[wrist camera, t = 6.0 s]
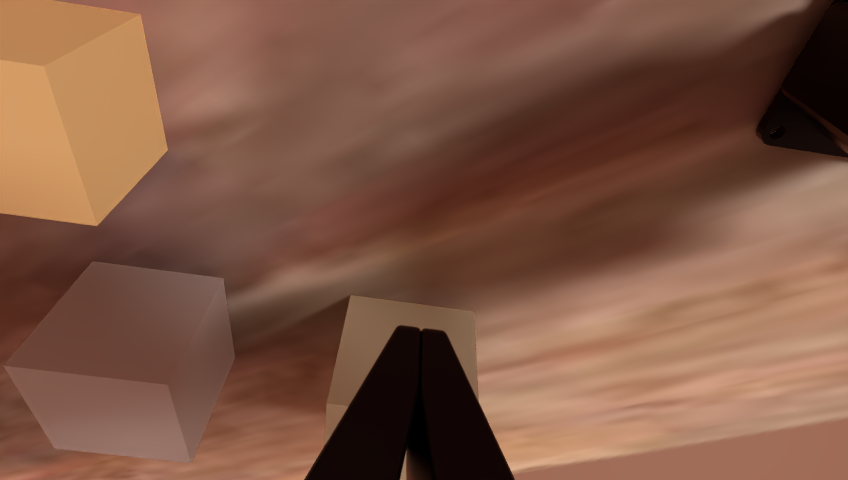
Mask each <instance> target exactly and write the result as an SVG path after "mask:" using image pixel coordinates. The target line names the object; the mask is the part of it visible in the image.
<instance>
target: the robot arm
mask: <svg viewBox="0 0 848 480" xmlns="http://www.w3.org/2000/svg"><path fill="white" fill-rule="evenodd" d="M776 126H779V129H778V130H777V131H776V132H774V133H772V134H770V131H771V130H772V129H773V128H774V127H776ZM756 135H757V136H758V137H759V139H760V140H761V141H763V142H764V143H765V144H767V145H770V146H777V147H783V148H790V149H796V150H802V151H809V152H815V153H822V154H828V155H834V156H841V157H847V158H848V0H834V2H833V3H832V5H831V6H830V8H829V9H828V10H827V11H826V12H825V14H824V16H823V17H822V19H821V21H820V22H819V24H818V26H817V27H816V29H815V31H814V32H813V34H812V35H811V37H810V39H809V40H808V42H807V44H806V45H805V47H804V49H803V50H802V52H801V54H800V55H799V57H798V58H797V60H796V62H795V63H794V65H793V67H792V68H791V70H790V72H789V73H788V75H787V77H786V78H785V80H784V81H783V83H782V85H781V88H780V90H779V92H778V93H777V95H776V97H775V98H774V100H773V102H772V103H771V105H770V106H769V108H768V110H767V111H766V113H765V115H764V116H763V118H762V120H761V121H760V123H759V125H758V127H757V129H756ZM405 454H406V480H515V479H514V476H513V474H512V472H511V470H510V468H509V466H508V464H507V462H506V459H505V457H504V455H503V453H502V451H501V449H500V447H499V444H498V442H497V440H496V438H495V436H494V434H493V432H492V429H491V427H490V425H489V423H488V421H487V419H486V417H485V414H484V412H483V410H482V408H481V406H480V404H479V402H478V400H477V397H476V395H475V393H474V391H473V389H472V387H471V385H470V382H469V380H468V378H467V376H466V374H465V372H464V370H463V367H462V365H461V363H460V361H459V359H458V357H457V355H456V352H455V350H454V348H453V346H452V344H451V342H450V340H449V338H448V335H447V334H446V332H444V331H443V330H437V329H429V328H424V329H422V330H420V329H419V328H418V327H412V326H404V325H399V326H397V327H396V328H395V330H394V331H393V333H392V335H391V336H390V338H389V340H388V341H387V343H386V345H385V346H384V348H383V350H382V351H381V353H380V355H379V356H378V358H377V360H376V361H375V363H374V365H373V366H372V368H371V370H370V371H369V373H368V375H367V376H366V378H365V380H364V381H363V383H362V385H361V386H360V388H359V390H358V391H357V393H356V395H355V396H354V398H353V400H352V401H351V403H350V405H349V406H348V408H347V410H346V411H345V413H344V415H343V416H342V418H341V420H340V421H339V423H338V425H337V426H336V428H335V430H334V431H333V433H332V435H331V436H330V438H329V439H328V441H327V443H326V444H325V446H324V448H323V449H322V451H321V453H320V454H319V456H318V458H317V459H316V461H315V463H314V464H313V466H312V468H311V469H310V471H309V473H308V474H307V476H306V478H305V479H304V480H400V477H401V473H402V468H403V464H404V459H405Z"/></svg>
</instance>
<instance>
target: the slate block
mask: <svg viewBox="0 0 848 480" xmlns="http://www.w3.org/2000/svg"><path fill="white" fill-rule="evenodd" d="M234 360H235V353H234V346H233V339H232V333H231V326H230V319H229V313H228V306H227V299H226V293H225V286H224V279H223V278H218V277H211V276H203V275H195V274H188V273H180V272H172V271H164V270H157V269H149V268H141V267H134V266H126V265H118V264H111V263H103V262H95V261H92V262H91V264H90V265H89V266H88V267H87V268H86V269H85V271H84V272H83V273H82V274H81V275H80V276H79V278H78V279H77V280H76V281H75V282H74V283H73V285H72V286H71V287H70V288H69V289H68V290H67V292H66V293H65V294H64V295H63V296H62V297H61V299H60V300H59V301H58V302H57V303H56V304H55V306H54V307H53V308H52V309H51V310H50V311H49V312H48V314H47V315H46V316H45V317H44V318H43V319H42V321H41V322H40V323H39V324H38V325H37V326H36V328H35V329H34V330H33V331H32V332H31V333H30V335H29V336H28V337H27V338H26V339H25V340H24V342H23V343H22V344H21V345H20V346H19V347H18V349H17V350H16V351H15V352H14V353H13V354H12V356H11V357H10V358H9V359H8V360H7V361H6V363H5V364H4V365H3V367H4V369H5V370H6V372H7V373H8V375H9V377H10V378H11V380H12V381H13V383H14V385H15V386H16V388H17V389H18V391H19V393H20V394H21V396H22V397H23V399H24V401H25V402H26V404H27V405H28V407H29V409H30V410H31V412H32V413H33V415H34V417H35V418H36V420H37V421H38V423H39V425H40V426H41V428H42V429H43V431H44V433H45V434H46V436H47V437H48V439H49V441H50V442H51V444H52V445H53V447H54V449H62V450H72V451H81V452H90V453H100V454H109V455H118V456H127V457H137V458H146V459H155V460H165V461H174V462H183V463H192V460H193V458H194V456H195V453H196V451H197V448H198V446H199V444H200V441H201V439H202V436H203V434H204V432H205V429H206V427H207V425H208V422H209V420H210V417H211V415H212V413H213V410H214V408H215V405H216V403H217V401H218V398H219V396H220V393H221V391H222V389H223V386H224V384H225V381H226V379H227V377H228V374H229V372H230V369H231V367H232V365H233V362H234Z"/></svg>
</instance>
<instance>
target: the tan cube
mask: <svg viewBox="0 0 848 480" xmlns="http://www.w3.org/2000/svg"><path fill="white" fill-rule="evenodd" d="M399 325H404V326H412V327H418V328H419V329H420V330H422V329H424V328H429V329H437V330H443V331H444V332H446V334H447V335H448V338H449V340H450V342H451V344H452V346H453V348H454V350H455V352H456V355H457V357H458V359H459V361H460V363H461V365H462V367H463V370H464V372H465V374H466V376H467V378H468V380H469V382H470V385H471V387H472V389H473V391H474V393H475V395H476V397H477V400H478V402H479V398H478V379H477V359H476V339H475V320H474V311H468V310H460V309H453V308H445V307H438V306H430V305H423V304H415V303H408V302H400V301H393V300H385V299H378V298H370V297H363V296H355V295H351V296H350V300H349V305H348V309H347V314H346V318H345V323H344V327H343V331H342V336H341V340H340V345H339V349H338V354H337V358H336V363H335V367H334V372H333V376H332V381H331V385H330V390H329V394H328V399H327V403H326V425H325V444H326V443H327V441H328V439H329V438H330V436H331V435H332V433H333V431H334V430H335V428H336V426H337V425H338V423H339V421H340V420H341V418H342V416H343V415H344V413H345V411H346V410H347V408H348V406H349V405H350V403H351V401H352V400H353V398H354V396H355V395H356V393H357V391H358V390H359V388H360V386H361V385H362V383H363V381H364V380H365V378H366V376H367V375H368V373H369V371H370V370H371V368H372V366H373V365H374V363H375V361H376V360H377V358H378V356H379V355H380V353H381V351H382V350H383V348H384V346H385V345H386V343H387V341H388V340H389V338H390V336H391V335H392V333H393V331H394V330H395V328H396V327H397V326H399ZM400 480H406V454H405V459H404V464H403V468H402V473H401V477H400Z"/></svg>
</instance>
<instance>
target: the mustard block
mask: <svg viewBox="0 0 848 480" xmlns="http://www.w3.org/2000/svg"><path fill="white" fill-rule="evenodd" d="M167 150H168V149H167V144H166V139H165V134H164V129H163V124H162V119H161V114H160V109H159V104H158V99H157V94H156V89H155V84H154V79H153V74H152V69H151V64H150V59H149V54H148V49H147V44H146V39H145V34H144V29H143V24H142V19H141V14H135V13H129V12H123V11H116V10H110V9H104V8H98V7H91V6H85V5H79V4H72V3H66V2H60V1H53V0H0V213H4V214H11V215H19V216H26V217H33V218H41V219H48V220H56V221H63V222H71V223H78V224H86V225H93V226H98V224H99V223H100V222H101V221H102V220H103V219H104V218H105V217H106V216H107V215H108V214H109V213H110V212H111V211H112V209H113V208H114V207H115V206H116V205H117V204H118V203H119V202H120V201H121V200H122V199H123V198H124V197H125V195H126V194H127V193H128V192H129V191H130V190H131V189H132V188H133V187H134V186H135V185H136V184H137V183H138V182H139V180H140V179H141V178H142V177H143V176H144V175H145V174H146V173H147V172H148V171H149V170H150V169H151V168H152V167H153V165H154V164H155V163H156V162H157V161H158V160H159V159H160V158H161V157H162V156H163V155H164V154H165V153H166V152H167Z"/></svg>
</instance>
